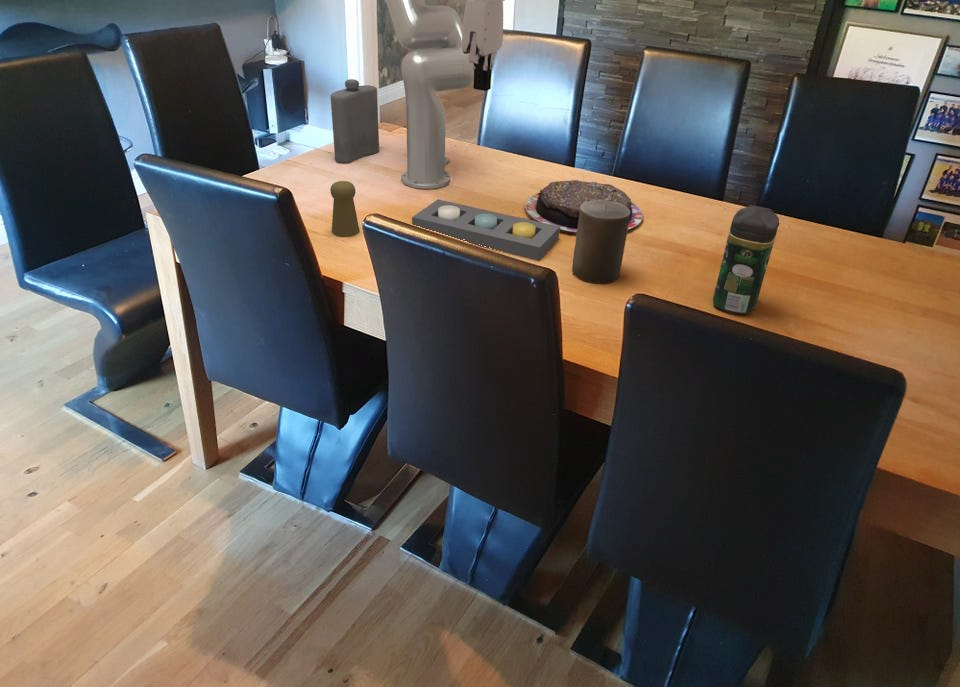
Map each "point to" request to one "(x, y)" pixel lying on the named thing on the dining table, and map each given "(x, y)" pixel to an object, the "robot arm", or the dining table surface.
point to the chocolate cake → (575, 203)
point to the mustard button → (524, 229)
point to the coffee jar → (745, 259)
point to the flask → (355, 122)
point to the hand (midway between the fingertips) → (481, 89)
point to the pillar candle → (600, 241)
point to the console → (489, 230)
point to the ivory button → (449, 212)
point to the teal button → (486, 221)
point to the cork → (344, 210)
